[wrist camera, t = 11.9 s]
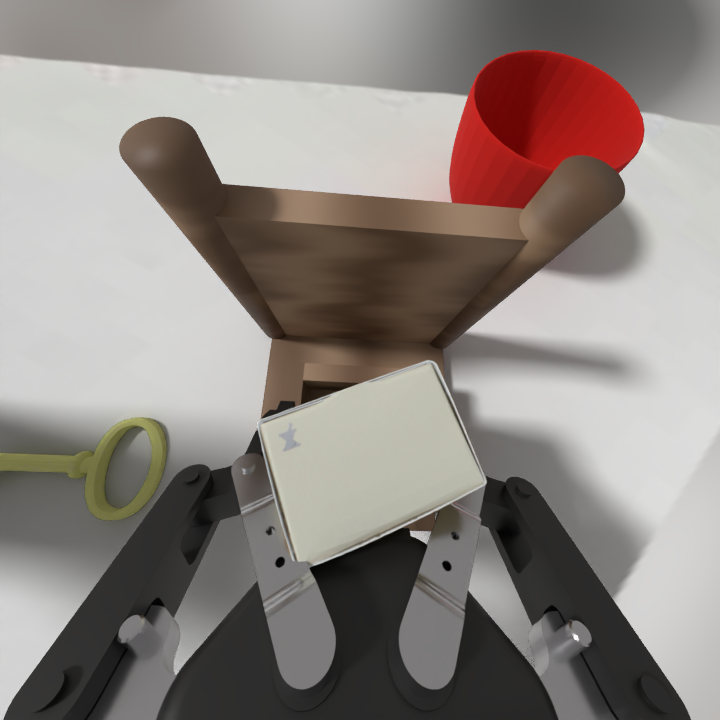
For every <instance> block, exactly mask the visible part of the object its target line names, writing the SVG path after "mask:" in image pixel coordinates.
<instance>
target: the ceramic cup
mask: <svg viewBox="0 0 720 720" xmlns="http://www.w3.org/2000/svg"><path fill="white" fill-rule="evenodd" d="M643 137H644V124H643V118H642V116H641V113H640V111H639V108H638V106H637V105H636V103H635V101H634V100H633V99H632V97H631V95H630V94H629V93H628V92H627V91H626V90H625V89H624V88H623V87H622V86H621V85H620V84H619V83H618V82H617V81H616V80H614V79H613V78H612V77H611V76H609V75H608V74H607V73H605V72H603V71H602V70H600V69H599V68H597V67H595V66H593V65H591V64H589V63H587V62H585V61H582V60H580V59H578V58H575V57H572V56H569V55H565V54H561V53H556V52H551V51H540V50H527V51H517V52H512V53H508V54H505V55H503V56H500V57H498V58H496V59H494V60H493V61H491V62H490V63H488V64H487V65H486V66H485V67H484V68H483V69H482V70H481V71H480V73H479V74H478V75H477V77H476V79H475V81H474V84H473V86H472V88H471V90H470V93H469V96H468V99H467V102H466V105H465V108H464V111H463V114H462V117H461V121H460V124H459V127H458V131H457V135H456V139H455V142H454V147H453V152H452V158H451V166H450V176H449V183H450V193H451V199H452V203H459V204H471V205H483V206H495V207H507V208H520V209H524V208H525V207H526V206H527V204H528V203H529V202H530V201H531V199H532V198H533V197H534V196H535V194H536V193H537V192H538V191H539V189H540V188H541V187H542V186H543V184H544V183H545V182H546V181H547V179H548V178H549V177H550V176H551V174H552V173H553V172H554V171H555V169H556V168H557V167H558V166H559V164H560V163H561V162H562V161H563V160H565V159H566V158H568V157H571V156H576V155H585V156H590V157H594V158H597V159H599V160H602V161H603V162H605V163H607V164H608V165H610V166H611V167H612V168H613V169H614V170H615V171H616V172H617V173H619V172H620V171H622V170H623V169H624V168H625V167H626V165H627V164H628V163H629V162H630V161H631V160H632V159H633V158H634V157H635V156H636V154H637V153H638V151H639V149H640V147H641V145H642V142H643Z"/></svg>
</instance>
